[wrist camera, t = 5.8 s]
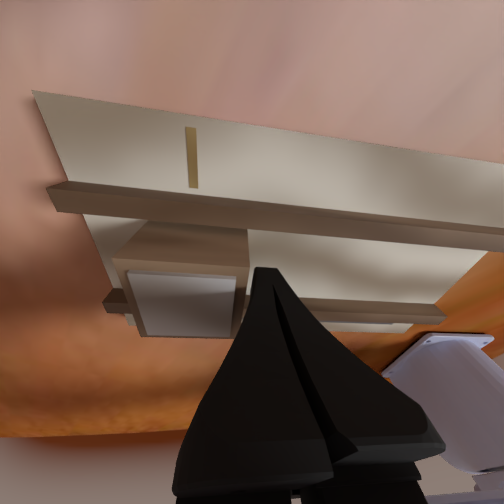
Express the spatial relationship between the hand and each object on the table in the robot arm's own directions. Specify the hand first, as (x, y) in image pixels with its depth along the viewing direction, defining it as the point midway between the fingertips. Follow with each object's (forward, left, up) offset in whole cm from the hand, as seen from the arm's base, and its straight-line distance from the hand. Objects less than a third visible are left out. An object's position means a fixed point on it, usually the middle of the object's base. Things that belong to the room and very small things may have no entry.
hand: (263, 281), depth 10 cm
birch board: (0, -3, -3) cm, 4 cm away
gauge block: (0, +4, -2) cm, 4 cm away
